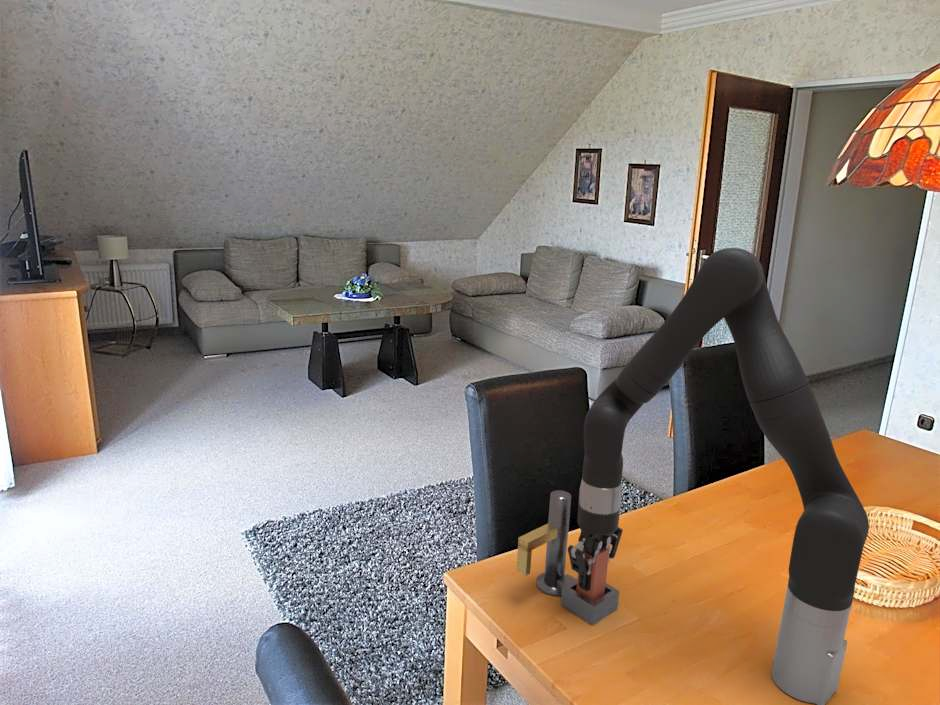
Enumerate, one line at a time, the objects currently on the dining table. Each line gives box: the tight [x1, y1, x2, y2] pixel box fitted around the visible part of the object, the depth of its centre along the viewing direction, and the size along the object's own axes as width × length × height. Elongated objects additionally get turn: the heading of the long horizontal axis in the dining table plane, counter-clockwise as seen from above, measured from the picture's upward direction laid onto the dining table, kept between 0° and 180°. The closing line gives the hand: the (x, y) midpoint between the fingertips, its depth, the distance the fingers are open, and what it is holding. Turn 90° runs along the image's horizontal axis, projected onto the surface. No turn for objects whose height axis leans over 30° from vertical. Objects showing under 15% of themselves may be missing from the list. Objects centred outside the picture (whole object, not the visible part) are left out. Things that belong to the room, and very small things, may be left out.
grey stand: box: [516, 489, 620, 626], centre depth 127 cm, size 16×14×20 cm
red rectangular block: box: [576, 548, 609, 602], centre depth 127 cm, size 4×4×11 cm
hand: (591, 583), depth 128 cm, fingers closed on red rectangular block, 3 cm apart
